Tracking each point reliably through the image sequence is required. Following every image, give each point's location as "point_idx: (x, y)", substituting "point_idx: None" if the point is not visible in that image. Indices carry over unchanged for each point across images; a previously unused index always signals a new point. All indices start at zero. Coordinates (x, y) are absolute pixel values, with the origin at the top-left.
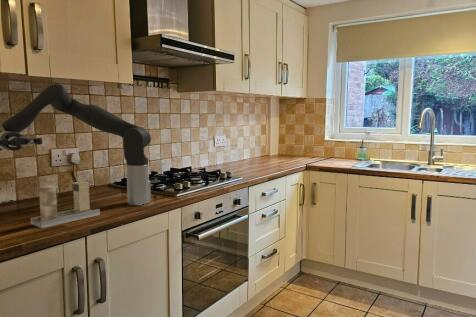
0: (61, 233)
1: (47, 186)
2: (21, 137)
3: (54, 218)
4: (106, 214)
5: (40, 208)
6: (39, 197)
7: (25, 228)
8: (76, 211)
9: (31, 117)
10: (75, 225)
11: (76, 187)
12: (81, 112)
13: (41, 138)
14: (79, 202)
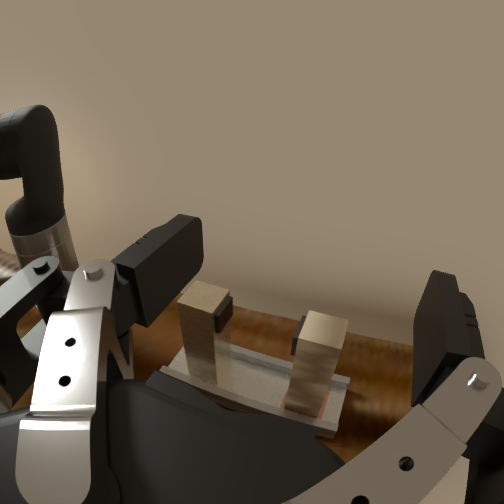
0: (347, 334)
1: (318, 333)
2: (100, 463)
3: None
4: (180, 334)
5: (325, 394)
6: (332, 374)
7: (362, 424)
8: (223, 370)
9: None
10: (290, 344)
11: (231, 305)
12: None
13: (54, 260)
14: (230, 337)
